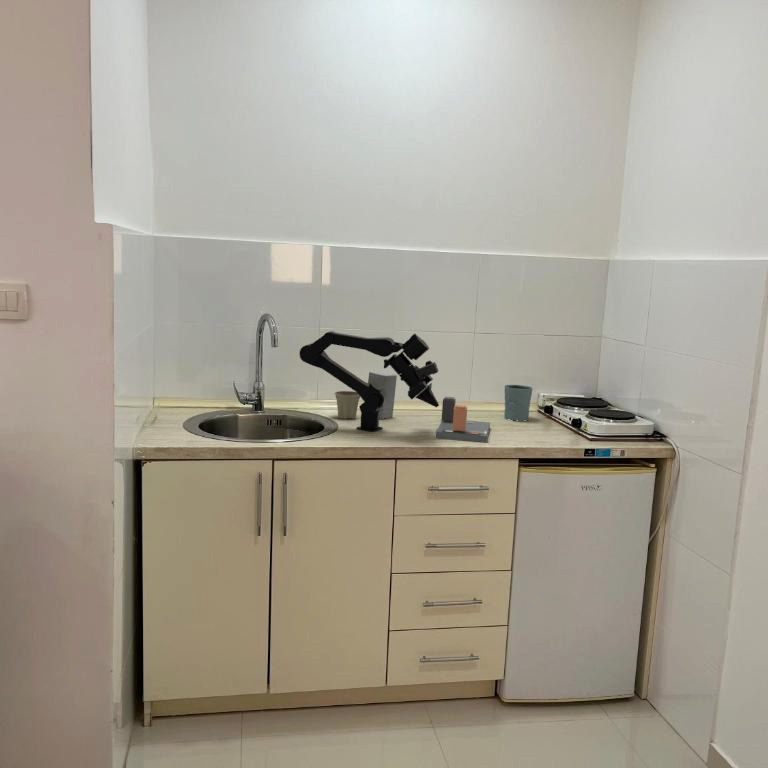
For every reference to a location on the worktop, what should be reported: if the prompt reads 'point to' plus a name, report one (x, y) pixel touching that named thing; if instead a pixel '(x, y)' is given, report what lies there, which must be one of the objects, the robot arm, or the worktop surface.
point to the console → (472, 432)
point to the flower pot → (347, 403)
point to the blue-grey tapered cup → (517, 402)
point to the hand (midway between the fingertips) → (437, 406)
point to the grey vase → (389, 386)
